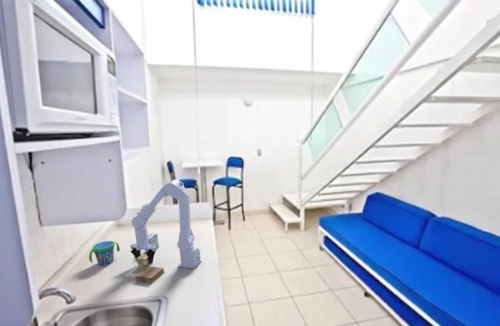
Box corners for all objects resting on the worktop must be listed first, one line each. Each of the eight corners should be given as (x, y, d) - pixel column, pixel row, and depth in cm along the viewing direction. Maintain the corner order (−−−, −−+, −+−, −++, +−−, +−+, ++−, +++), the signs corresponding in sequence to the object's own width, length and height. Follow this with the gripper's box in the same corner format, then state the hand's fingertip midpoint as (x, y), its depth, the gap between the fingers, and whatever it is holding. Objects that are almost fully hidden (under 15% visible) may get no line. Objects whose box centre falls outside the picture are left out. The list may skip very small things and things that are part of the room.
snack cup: (116, 254, 164) (114, 237, 163) (124, 259, 157) (122, 241, 156) (87, 265, 153) (84, 247, 152) (94, 271, 146) (91, 252, 144)
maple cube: (152, 263, 151) (151, 254, 150) (146, 268, 146) (145, 259, 145) (144, 262, 152) (143, 253, 152) (138, 267, 148) (137, 258, 147)
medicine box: (152, 253, 163) (150, 239, 161) (144, 253, 164) (143, 238, 162) (159, 247, 170) (157, 233, 169) (152, 247, 171) (150, 233, 170)
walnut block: (164, 273, 140) (163, 268, 140) (152, 284, 132) (151, 278, 132) (148, 271, 143) (148, 266, 143) (136, 281, 135) (135, 275, 135)
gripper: (124, 239, 146) (128, 264, 148) (148, 241, 141) (151, 267, 143) (134, 234, 152) (137, 258, 154) (157, 236, 148) (160, 260, 150)
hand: (145, 262), depth 149 cm, fingers open, 7 cm apart
